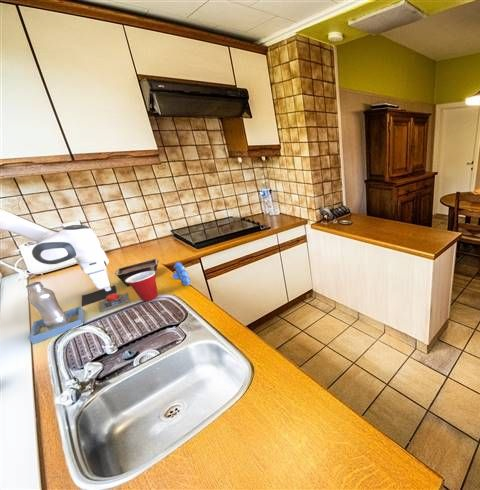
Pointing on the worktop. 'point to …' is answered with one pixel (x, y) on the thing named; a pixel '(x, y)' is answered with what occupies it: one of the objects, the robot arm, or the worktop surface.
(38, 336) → the dish rack
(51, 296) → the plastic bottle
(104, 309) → the control block
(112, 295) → the button
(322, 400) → the worktop surface
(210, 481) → the worktop surface
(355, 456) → the worktop surface
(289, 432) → the worktop surface
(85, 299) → the drying mat
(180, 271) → the grapes
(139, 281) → the plastic cup
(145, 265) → the baking dish
